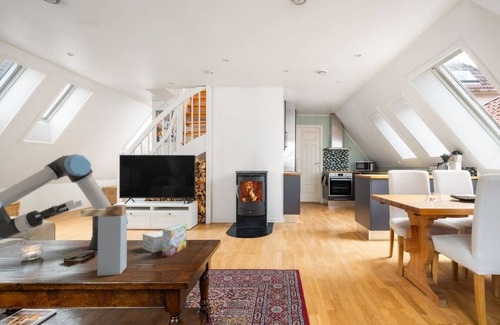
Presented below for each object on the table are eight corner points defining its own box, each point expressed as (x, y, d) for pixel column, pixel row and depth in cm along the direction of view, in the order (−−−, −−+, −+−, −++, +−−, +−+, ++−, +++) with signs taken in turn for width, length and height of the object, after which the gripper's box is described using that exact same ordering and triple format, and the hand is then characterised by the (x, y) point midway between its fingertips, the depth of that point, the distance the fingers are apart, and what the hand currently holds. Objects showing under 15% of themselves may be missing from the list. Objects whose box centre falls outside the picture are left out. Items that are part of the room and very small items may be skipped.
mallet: (78, 217, 127) (78, 207, 127) (85, 215, 134) (85, 205, 134) (121, 216, 130) (121, 206, 130) (126, 213, 137) (126, 204, 137)
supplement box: (153, 252, 162) (153, 237, 162) (142, 249, 170) (142, 234, 170) (177, 246, 175) (177, 232, 175) (165, 243, 183) (165, 229, 183)
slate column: (97, 275, 126) (98, 217, 127) (105, 268, 135) (106, 214, 136) (120, 274, 127) (120, 216, 128) (126, 266, 137) (127, 213, 138)
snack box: (170, 257, 153) (170, 230, 153) (161, 256, 154) (161, 229, 155) (186, 246, 174) (186, 223, 174) (178, 246, 175) (178, 223, 175)
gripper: (43, 226, 141) (87, 209, 148) (20, 230, 117) (73, 209, 125) (37, 212, 141) (81, 196, 148) (13, 214, 117) (67, 194, 125)
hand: (78, 202), depth 136 cm, fingers open, 13 cm apart
